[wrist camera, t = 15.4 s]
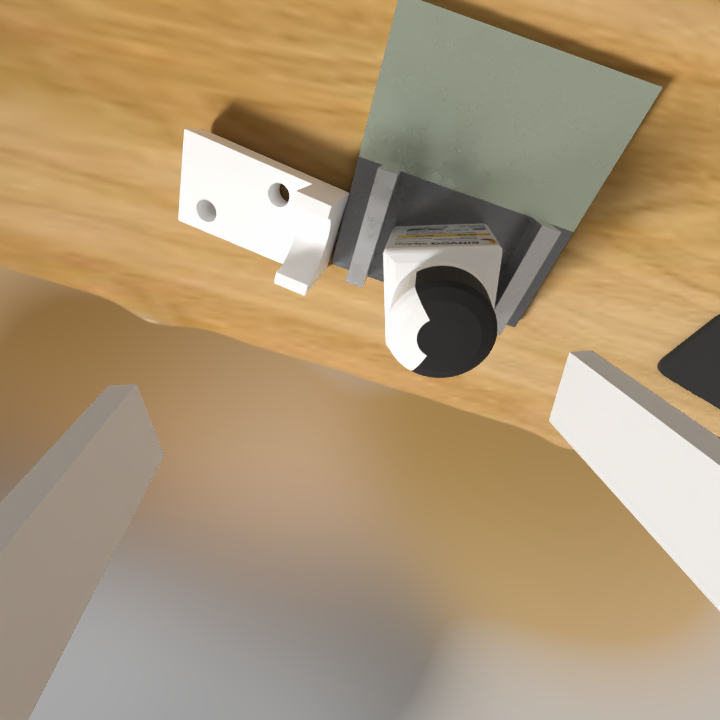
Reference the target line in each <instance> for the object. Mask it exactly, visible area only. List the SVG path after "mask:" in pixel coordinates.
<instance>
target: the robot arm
mask: <svg viewBox="0 0 720 720" xmlns="http://www.w3.org/2000/svg"><path fill="white" fill-rule="evenodd" d="M549 421H550V423H551V424H552V425H553V426H554V427H555V428H556V429H557V430H558V432H559V433H560V434H561V435H562V436H563V437H564V438H565V439H566V440H567V442H568V443H569V444H570V445H571V446H572V447H573V448H574V449H575V450H576V452H577V453H578V454H579V455H580V456H581V457H582V458H583V459H584V461H585V462H586V463H587V464H588V465H589V466H590V467H591V468H592V469H593V471H594V472H595V473H596V474H597V475H598V476H599V477H600V478H601V479H602V481H603V482H604V483H605V484H606V485H607V486H608V487H609V488H610V489H611V491H612V492H613V493H614V494H615V495H616V496H617V497H618V498H619V500H620V501H621V502H622V503H623V504H624V505H625V506H626V507H627V508H628V510H629V511H630V512H631V513H632V514H633V515H634V516H635V517H636V519H637V520H638V521H639V522H640V523H641V524H642V525H643V526H644V527H645V529H646V530H647V531H648V532H649V533H650V534H651V535H652V536H653V537H654V538H655V540H656V541H657V542H658V543H659V544H660V545H661V546H662V548H663V549H664V550H665V551H666V552H667V553H668V554H669V555H670V556H671V558H672V559H673V560H674V561H675V562H676V563H677V564H678V565H679V566H680V567H681V569H682V570H683V571H684V572H685V573H686V574H687V575H688V576H689V578H690V579H691V580H692V581H693V582H694V583H695V584H696V585H697V587H698V588H699V589H700V590H701V591H702V592H703V593H704V594H705V595H706V597H707V598H708V599H709V600H710V601H711V602H712V603H713V604H714V606H715V607H716V608H717V609H718V610H719V611H720V437H718V436H716V435H715V434H713V433H712V432H710V431H709V430H707V429H706V428H704V427H703V426H701V425H700V424H698V423H697V422H696V421H694V420H693V419H691V418H690V417H688V416H687V415H685V414H684V413H682V412H681V411H680V410H678V409H677V408H675V407H674V406H672V405H671V404H669V403H668V402H666V401H665V400H664V399H662V398H661V397H659V396H658V395H656V394H655V393H653V392H652V391H650V390H649V389H648V388H646V387H645V386H643V385H642V384H640V383H639V382H637V381H636V380H634V379H633V378H632V377H630V376H629V375H627V374H626V373H624V372H623V371H621V370H620V369H618V368H617V367H615V366H614V365H613V364H611V363H610V362H608V361H607V360H605V359H604V358H602V357H601V356H599V355H598V354H597V353H595V352H594V351H579V352H569V356H568V359H567V362H566V366H565V369H564V372H563V376H562V379H561V382H560V386H559V389H558V392H557V396H556V399H555V402H554V405H553V409H552V412H551V415H550V419H549ZM163 457H164V453H163V451H162V449H161V446H160V443H159V441H158V438H157V436H156V433H155V431H154V428H153V426H152V423H151V420H150V418H149V415H148V413H147V410H146V407H145V405H144V402H143V400H142V397H141V394H140V392H139V389H138V387H137V384H129V385H128V384H127V385H114V386H108V387H107V388H106V389H105V390H104V391H103V392H102V393H101V394H100V395H99V396H98V397H97V399H96V400H95V401H94V402H93V403H92V404H91V405H90V406H89V407H88V408H87V409H86V410H85V412H84V413H83V414H82V415H81V416H80V417H79V418H78V419H77V420H76V421H75V422H74V424H73V425H72V426H71V427H70V428H69V429H68V430H67V431H66V432H65V433H64V435H62V437H61V438H60V439H59V440H58V441H57V442H56V443H55V444H54V445H53V446H52V448H51V449H50V450H49V451H48V452H47V453H46V454H45V455H44V456H43V457H42V458H41V459H40V461H39V462H38V463H37V464H36V465H35V466H34V467H33V468H32V469H31V470H30V471H29V472H28V474H27V475H26V476H25V477H24V478H23V479H22V480H21V481H20V482H19V483H18V484H17V485H16V487H15V488H14V489H13V490H12V491H11V492H10V493H9V494H8V495H7V496H6V497H5V498H4V500H3V501H2V502H1V503H0V720H28V719H29V717H30V715H31V713H32V711H33V710H34V708H35V705H36V704H37V702H38V700H39V698H40V696H41V694H42V692H43V690H44V688H45V686H46V684H47V682H48V680H49V678H50V676H51V675H52V672H53V671H54V668H55V667H56V665H57V663H58V661H59V659H60V657H61V655H62V653H63V651H64V649H65V647H66V645H67V643H68V641H69V640H70V638H71V636H72V634H73V632H74V630H75V628H76V626H77V624H78V622H79V620H80V618H81V616H82V614H83V612H84V610H85V608H86V606H87V604H88V602H89V601H90V599H91V597H92V595H93V593H94V590H95V589H96V587H97V585H98V583H99V581H100V579H101V577H102V575H103V573H104V571H105V569H106V567H107V566H108V564H109V562H110V559H111V557H112V556H113V554H114V552H115V550H116V548H117V546H118V544H119V542H120V540H121V538H122V536H123V534H124V532H125V531H126V529H127V527H128V525H129V523H130V521H131V519H132V517H133V515H134V513H135V511H136V509H137V507H138V505H139V503H140V501H141V499H142V497H143V495H144V493H145V492H146V490H147V488H148V486H149V484H150V482H151V480H152V478H153V476H154V474H155V472H156V470H157V468H158V466H159V464H160V462H161V460H162V459H163Z"/></svg>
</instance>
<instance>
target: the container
mask: <svg viewBox="0 0 720 720" xmlns="http://www.w3.org/2000/svg"><path fill="white" fill-rule="evenodd" d="M501 259H502V248H501V246H500V244H499V243H498V241H497V240H496V238H495V237H494V235H493V233H492V232H491V230H490V229H489V227H488V226H487V225H486V224H484V223H479V224H449V225H418V226H396V227H394V228H393V230H392V232H391V235H390V237H389V239H388V242H387V244H386V247H385V249H384V252H383V268H384V301H385V334H386V345H387V347H388V348H390V350H391V352H392V354H393V355H394V356H395V358H396V359H397V360H398V361H399V362H400V363H401V364H402V365H403V366H404V367H406V368H408V369H409V370H411V371H413V372H415V373H417V374H420V375H423V376H427V377H434V378H446V377H453V376H457V375H460V374H463V373H465V372H467V371H469V370H471V369H473V368H474V367H476V366H477V365H479V364H480V363H481V362H482V361H483V360H484V359H485V358H486V357H487V356H488V354H489V353H490V351H491V350H492V348H493V346H494V343H495V340H496V337H497V330H498V327H497V318H496V314H495V312H494V308H495V301H496V294H497V287H498V280H499V273H500V266H501Z"/></svg>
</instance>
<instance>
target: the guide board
mask: <svg viewBox="0 0 720 720" xmlns="http://www.w3.org/2000/svg"><path fill="white" fill-rule="evenodd" d="M662 88H663V87H661V86H658V85H655V84H652V83H650V82H647V81H644V80H641V79H639V78H636V77H633V76H630V75H627V74H625V73H622V72H619V71H616V70H614V69H611V68H608V67H605V66H602V65H600V64H597V63H594V62H591V61H589V60H586V59H583V58H580V57H577V56H575V55H572V54H569V53H566V52H564V51H561V50H558V49H555V48H552V47H550V46H547V45H544V44H541V43H539V42H536V41H533V40H530V39H527V38H525V37H522V36H519V35H516V34H514V33H511V32H508V31H505V30H502V29H500V28H497V27H494V26H491V25H489V24H486V23H483V22H480V21H477V20H475V19H472V18H469V17H466V16H464V15H461V14H458V13H455V12H452V11H450V10H447V9H444V8H441V7H439V6H436V5H433V4H430V3H427V2H425V1H422V0H398V2H397V6H396V10H395V14H394V18H393V22H392V26H391V30H390V34H389V38H388V42H387V46H386V50H385V54H384V58H383V62H382V66H381V70H380V74H379V77H378V81H377V85H376V89H375V93H374V97H373V101H372V105H371V109H370V113H369V117H368V121H367V125H366V129H365V133H364V137H363V141H362V145H361V149H360V153H359V157H358V161H357V165H356V169H355V173H354V177H353V181H352V185H351V189H350V193H349V197H348V201H347V205H346V209H345V213H344V217H343V221H342V225H341V229H340V233H339V237H338V241H337V244H336V248H335V252H334V256H333V260H332V264H334V265H336V266H339V267H342V268H345V269H348V270H349V272H348V276H347V279H346V282H347V283H350V284H353V285H356V286H359V287H363V285H364V283H365V281H366V278H367V276H368V277H371V278H374V279H377V280H380V281H383V282H384V268H383V252H384V249H385V247H386V244H387V242H388V239H389V237H390V235H391V232H392V230H393V228H394V227H396V226H418V225H449V224H479V223H484V224H486V225H487V226H488V227H489V229H490V230H491V232H492V233H493V235H494V237H495V238H496V240H497V241H498V243H499V244H500V246H501V248H502V259H501V266H500V273H499V280H498V287H497V294H496V301H495V308H494V312H495V314H496V318H497V327H498V330H497V335H500V334H501V333H502V331H503V329H504V328H505V326H506V324H507V325H510V326H513V327H515V326H516V325H517V323H518V321H519V320H520V318H521V317H522V315H523V313H524V312H525V310H526V308H527V307H528V305H529V304H530V302H531V300H532V299H533V297H534V295H535V294H536V292H537V291H538V289H539V287H540V286H541V284H542V282H543V281H544V279H545V278H546V276H547V274H548V273H549V271H550V270H551V268H552V266H553V265H554V263H555V261H556V260H557V258H558V257H559V255H560V253H561V252H562V250H563V248H564V247H565V245H566V244H567V242H568V240H569V239H570V237H571V235H572V234H573V232H574V231H575V229H576V227H577V226H578V224H579V222H580V221H581V219H582V218H583V216H584V214H585V213H586V211H587V210H588V208H589V206H590V205H591V203H592V201H593V200H594V198H595V197H596V195H597V193H598V192H599V190H600V188H601V187H602V185H603V184H604V182H605V180H606V179H607V177H608V175H609V174H610V172H611V171H612V169H613V167H614V166H615V164H616V162H617V161H618V159H619V158H620V156H621V154H622V153H623V151H624V150H625V148H626V146H627V145H628V143H629V141H630V140H631V138H632V137H633V135H634V133H635V132H636V130H637V128H638V127H639V125H640V124H641V122H642V120H643V119H644V117H645V115H646V114H647V112H648V111H649V109H650V107H651V106H652V104H653V102H654V101H655V99H656V98H657V96H658V94H659V93H660V91H661V90H662Z"/></svg>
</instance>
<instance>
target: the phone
mask: <svg viewBox="0 0 720 720" xmlns="http://www.w3.org/2000/svg"><path fill="white" fill-rule="evenodd" d="M658 370H659V371H660V372H661V373H662V374H663V375H664V376H666V377H667V378H669V379H671V380H672V381H673V382H675V383H677V384H679V385H680V386H682V387H683V388H685V389H687V390H689V391H690V392H692V393H693V394H695V395H697V396H698V397H701V398H702V399H704V400H706V401H707V402H709V403H711V404H712V405H714V406H716V407H717V408H719V409H720V314H719V315H718V316H716V317H714V318H713V319H712V320H710V321H709V322H708V323H707V324H705V325H704V326H703V327H701V328H700V329H699V330H698V331H696V332H695V333H694V334H693V335H691V336H690V337H689V338H687V339H686V340H685V341H684V342H682V343H681V344H680V345H679V346H677V347H676V348H675V349H673V350H672V351H671V352H670V353H668V354H667V355H666V356H665V357H663V358H662V359H661V360H660V362H659V363H658Z"/></svg>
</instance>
